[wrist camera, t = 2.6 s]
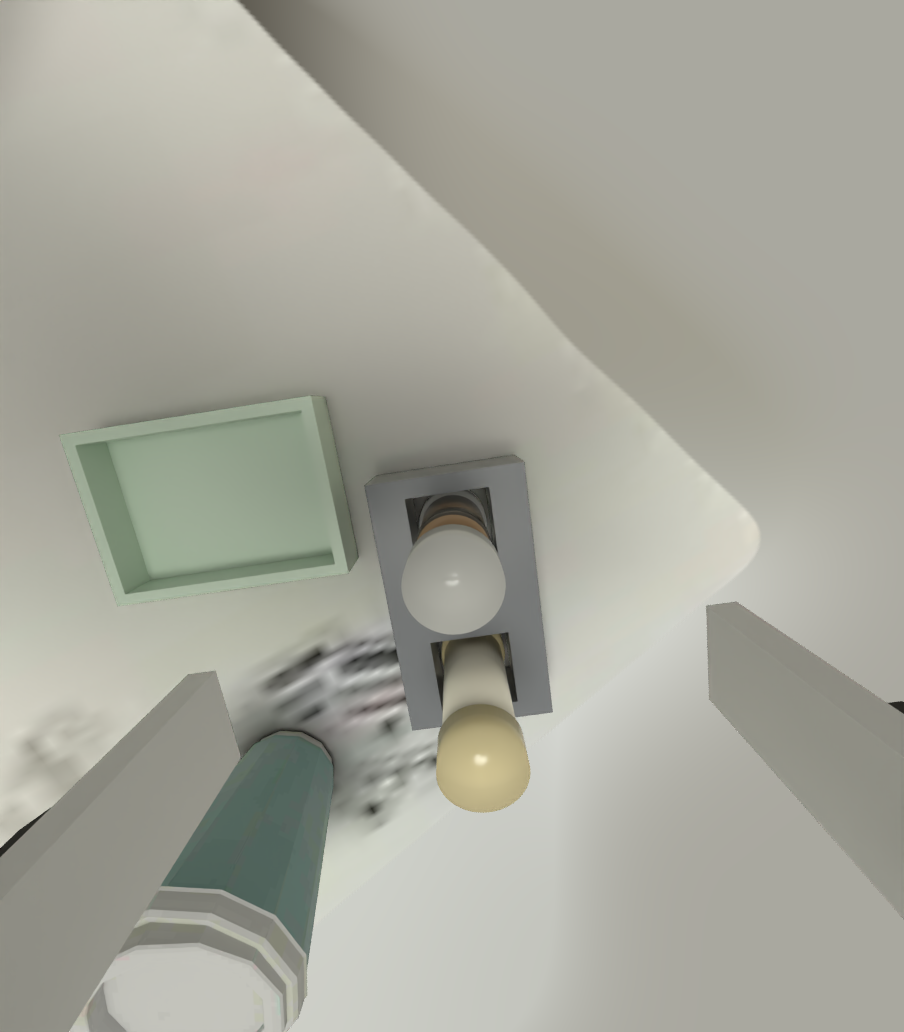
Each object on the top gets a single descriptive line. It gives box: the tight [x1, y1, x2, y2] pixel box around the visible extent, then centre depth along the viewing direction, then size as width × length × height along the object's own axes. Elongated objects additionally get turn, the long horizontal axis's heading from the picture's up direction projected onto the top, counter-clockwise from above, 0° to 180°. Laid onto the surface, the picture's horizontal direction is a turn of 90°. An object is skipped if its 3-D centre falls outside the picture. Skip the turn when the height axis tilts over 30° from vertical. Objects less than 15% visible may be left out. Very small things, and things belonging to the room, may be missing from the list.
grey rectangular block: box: [365, 455, 553, 731], centre depth 29 cm, size 16×9×4 cm, turn 9°
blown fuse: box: [401, 490, 506, 635], centre depth 24 cm, size 4×4×12 cm
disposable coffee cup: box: [70, 731, 333, 1032], centre depth 27 cm, size 11×11×15 cm
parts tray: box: [59, 395, 359, 606], centre depth 28 cm, size 11×15×3 cm
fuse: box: [436, 633, 530, 813], centre depth 26 cm, size 4×4×12 cm
